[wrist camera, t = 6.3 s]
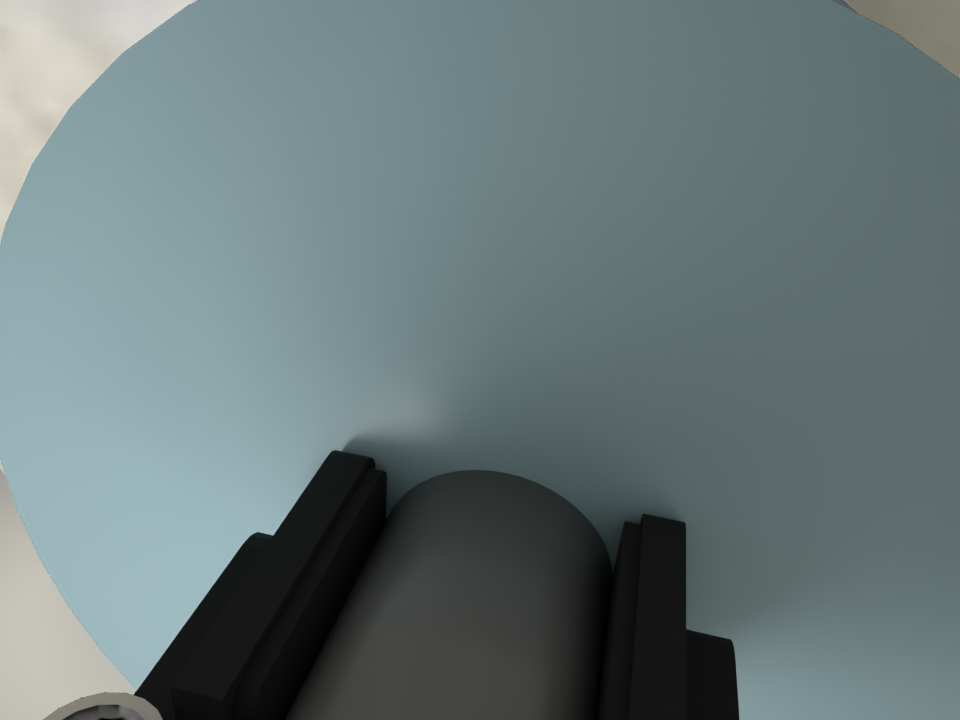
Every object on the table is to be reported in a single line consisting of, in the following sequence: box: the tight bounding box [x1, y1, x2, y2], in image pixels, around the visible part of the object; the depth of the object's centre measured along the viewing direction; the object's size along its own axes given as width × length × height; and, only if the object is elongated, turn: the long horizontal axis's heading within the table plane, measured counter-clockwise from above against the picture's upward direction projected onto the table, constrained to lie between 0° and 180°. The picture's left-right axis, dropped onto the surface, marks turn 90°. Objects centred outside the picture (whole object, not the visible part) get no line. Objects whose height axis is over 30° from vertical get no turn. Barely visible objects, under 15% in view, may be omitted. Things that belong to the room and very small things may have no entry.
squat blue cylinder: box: [0, 0, 960, 720], centre depth 12 cm, size 15×15×11 cm
